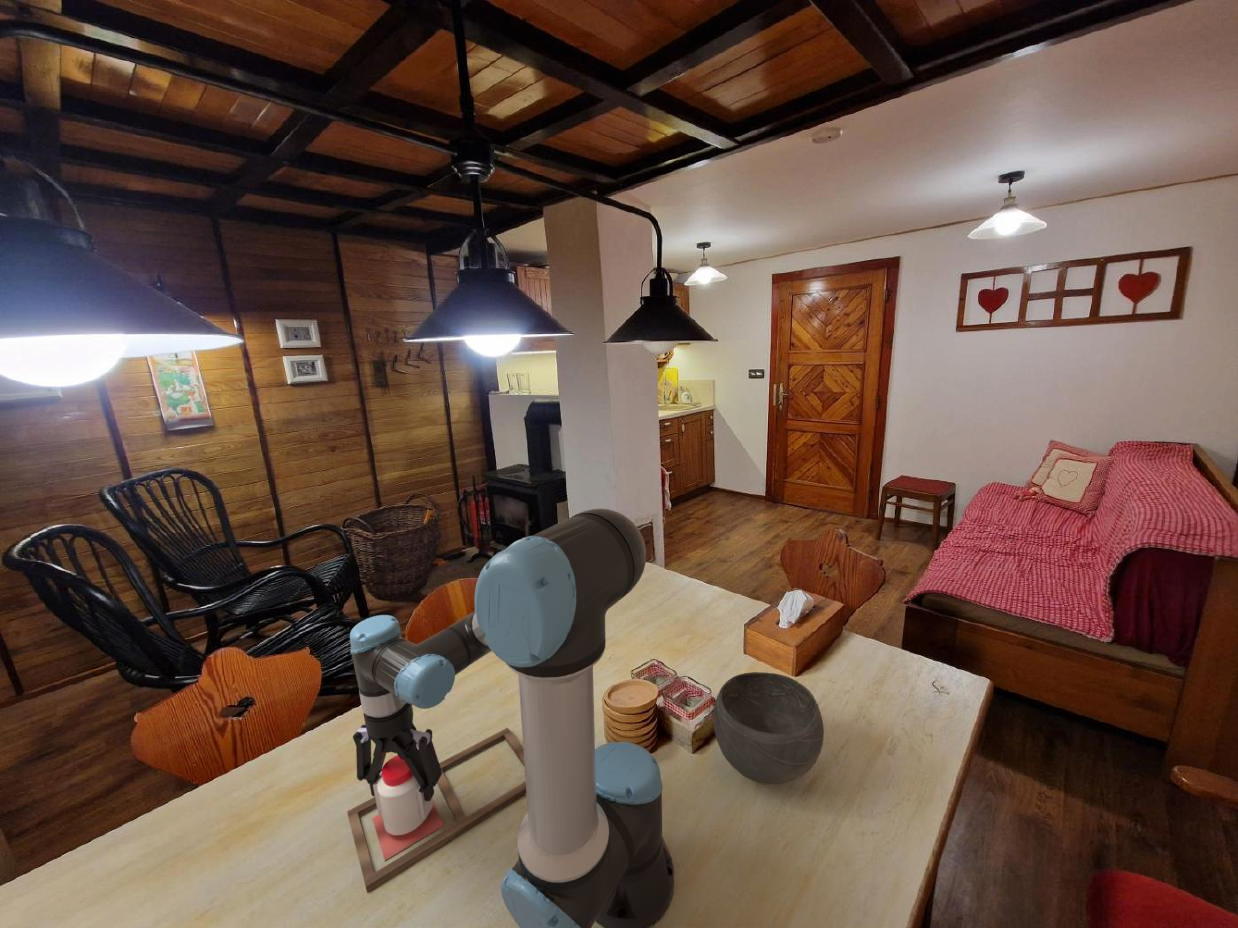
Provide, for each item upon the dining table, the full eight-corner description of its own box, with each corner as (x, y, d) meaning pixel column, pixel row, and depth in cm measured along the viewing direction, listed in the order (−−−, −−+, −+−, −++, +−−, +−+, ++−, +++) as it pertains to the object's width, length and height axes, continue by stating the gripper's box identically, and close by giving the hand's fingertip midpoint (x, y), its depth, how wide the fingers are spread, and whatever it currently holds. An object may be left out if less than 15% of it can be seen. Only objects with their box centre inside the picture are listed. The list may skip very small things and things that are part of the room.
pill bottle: (413, 838, 86) (404, 787, 84) (374, 831, 88) (364, 781, 85) (437, 799, 93) (430, 751, 91) (401, 793, 95) (392, 746, 92)
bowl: (826, 744, 105) (830, 682, 101) (812, 828, 87) (817, 758, 83) (729, 713, 115) (730, 656, 111) (699, 783, 97) (699, 718, 93)
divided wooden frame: (544, 781, 98) (544, 776, 98) (367, 892, 79) (365, 886, 79) (508, 731, 112) (507, 727, 111) (348, 816, 93) (347, 811, 92)
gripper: (453, 691, 87) (467, 796, 92) (347, 685, 90) (367, 787, 95) (432, 723, 80) (449, 835, 85) (317, 715, 83) (340, 824, 88)
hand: (405, 810), depth 90 cm, fingers closed on pill bottle, 8 cm apart
